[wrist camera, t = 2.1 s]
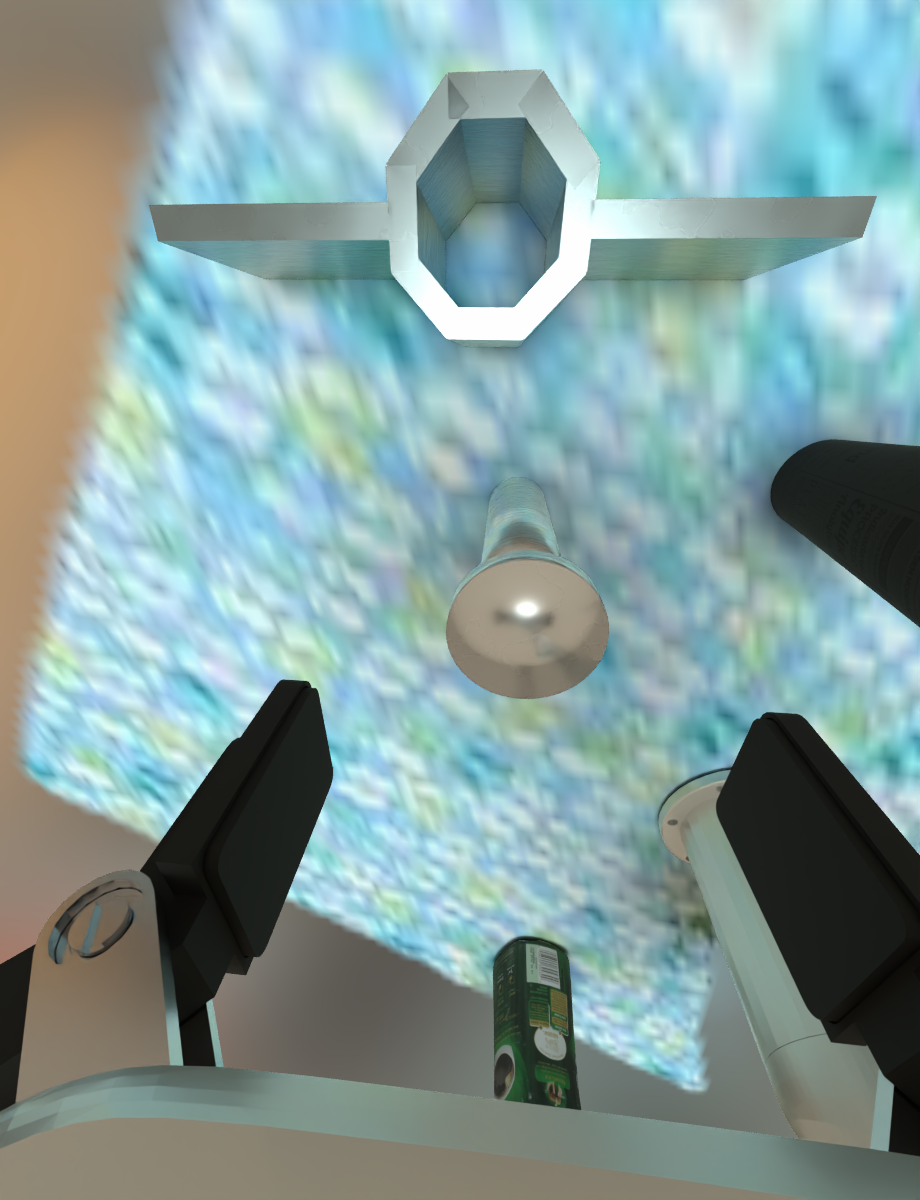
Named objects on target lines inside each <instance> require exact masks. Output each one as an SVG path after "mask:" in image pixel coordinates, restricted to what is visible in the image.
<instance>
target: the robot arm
mask: <svg viewBox="0 0 920 1200" xmlns="http://www.w3.org/2000/svg"><path fill="white" fill-rule="evenodd" d="M332 779H333V767H332V762H331V756H330V751H329V746H328V741H327V735H326V730H325V725H324V719H323V714H322V709H321V704H320V698H319V693H318V690H317V689H316V688H311V685H310V683H309V682H308V681H298V680H281V681H279V683H278V684H277V685H276V686H275V688H274V689H273V691H272V692H271V694H270V695H269V697H268V698H267V700H266V701H265V702H264V704H263V705H262V707H261V708H260V710H259V711H258V713H257V714H256V715H255V717H254V718H253V720H252V721H251V723H250V724H249V726H248V727H247V729H246V730H245V731H244V733H243V734H242V736H241V737H240V738H237V739H235V740H233V741H232V742H231V743H230V745H229V746H228V747H227V748H226V749H225V751H224V752H223V754H222V755H221V757H220V758H219V759H218V761H217V762H216V764H215V765H214V767H213V768H212V769H211V771H210V772H209V774H208V775H207V776H206V778H205V779H204V781H203V782H202V784H201V785H200V786H199V788H198V789H197V791H196V792H195V793H194V795H193V796H192V798H191V799H190V801H189V802H188V803H187V805H186V806H185V808H184V809H183V810H182V812H181V813H180V815H179V816H178V818H177V819H176V820H175V822H174V823H173V825H172V826H171V828H170V829H169V830H168V832H167V833H166V835H165V836H164V837H163V839H162V840H161V842H160V843H159V845H158V846H157V847H156V849H155V850H154V852H153V853H152V855H151V856H150V858H149V859H148V860H147V862H146V863H145V865H144V866H143V867H142V869H141V870H140V871H134V870H122V871H115V872H112V873H109V874H106V875H104V876H102V877H98V878H97V879H95V880H93V881H91V882H90V883H88V884H86V885H85V886H83V887H81V888H80V889H79V890H77V891H76V892H75V893H74V894H72V895H71V896H70V897H69V898H68V899H66V900H65V901H64V902H63V903H62V904H61V905H60V906H59V907H58V909H57V910H56V911H55V912H54V913H53V914H52V915H51V916H50V918H49V919H48V921H47V922H46V924H45V926H44V927H43V929H42V931H41V932H40V934H39V936H38V939H37V942H36V944H35V945H33V946H32V947H30V948H28V949H26V950H25V951H23V952H21V953H19V954H18V955H16V956H14V957H13V958H11V959H9V960H7V961H5V962H4V963H2V964H0V1200H920V855H919V854H918V853H917V852H916V850H915V849H914V848H913V847H912V846H911V844H910V843H909V842H908V841H907V840H906V838H905V837H904V836H903V835H902V834H901V832H900V831H899V830H898V829H897V828H896V827H895V825H894V824H893V823H892V822H891V821H890V819H889V818H888V817H887V816H886V815H885V813H884V812H883V811H882V810H881V809H880V807H879V806H878V805H877V804H876V803H875V801H874V800H873V799H872V798H871V797H870V795H869V794H868V793H867V792H866V791H865V790H864V788H863V787H862V786H861V785H860V784H859V782H858V781H857V780H856V779H855V778H854V776H853V775H852V774H851V773H850V772H849V770H848V769H847V768H846V767H845V766H844V764H843V763H842V762H841V761H840V760H839V758H838V757H837V756H836V755H835V754H834V752H833V751H832V750H831V749H830V748H829V747H828V745H827V744H826V743H825V742H824V741H823V739H822V738H821V737H820V736H819V735H818V733H817V732H816V731H815V730H814V729H813V727H812V726H811V725H810V724H809V723H808V721H807V720H806V719H805V718H804V717H802V716H801V715H798V714H789V713H774V712H766V713H765V714H763V715H762V717H761V718H760V719H756V720H754V722H753V723H752V725H751V728H750V730H749V732H748V734H747V736H746V738H745V740H744V743H743V745H742V747H741V749H740V751H739V753H738V756H737V758H736V760H735V762H734V764H733V766H732V768H731V770H726V771H720V772H716V773H712V774H709V775H706V776H703V777H700V778H698V779H696V780H693V781H691V782H689V783H688V784H686V785H684V786H683V787H681V788H680V789H678V790H677V791H676V792H675V793H674V794H673V795H671V796H670V797H669V799H668V800H667V801H666V803H665V804H664V805H663V807H662V809H661V812H660V814H659V820H658V825H659V830H660V833H661V836H662V839H663V842H664V844H665V845H666V847H667V848H668V850H669V851H670V852H671V853H673V854H674V855H675V856H676V857H677V858H679V859H681V860H682V861H684V862H686V863H689V864H691V867H692V870H693V872H694V875H695V878H696V880H697V883H698V886H699V889H700V891H701V894H702V897H703V900H704V902H705V905H706V908H707V910H708V913H709V916H710V919H711V921H712V924H713V927H714V930H715V932H716V935H717V938H718V940H719V943H720V946H721V949H722V951H723V954H724V957H725V959H726V962H727V965H728V968H729V970H730V973H731V976H732V979H733V981H734V984H735V987H736V989H737V992H738V995H739V998H740V1000H741V1003H742V1006H743V1009H744V1011H745V1014H746V1017H747V1019H748V1022H749V1025H750V1028H751V1030H752V1033H753V1036H754V1038H755V1041H756V1044H757V1047H758V1049H759V1052H760V1055H761V1057H762V1060H763V1063H764V1066H765V1068H766V1071H767V1073H768V1076H769V1079H770V1081H771V1084H772V1087H773V1090H774V1092H775V1095H776V1097H777V1100H778V1102H779V1104H780V1107H781V1109H782V1111H783V1113H784V1115H785V1117H786V1119H787V1121H788V1122H789V1124H790V1126H791V1128H792V1129H793V1131H794V1132H795V1134H796V1135H797V1137H798V1139H794V1138H786V1137H779V1136H772V1135H764V1134H757V1133H750V1132H741V1131H735V1130H727V1129H720V1128H712V1127H705V1126H697V1125H690V1124H683V1123H675V1122H667V1121H659V1120H652V1119H644V1118H636V1117H629V1116H621V1115H613V1114H605V1113H598V1112H590V1111H583V1110H575V1109H567V1108H559V1107H552V1106H544V1105H536V1104H528V1103H521V1102H513V1101H505V1100H497V1099H489V1098H481V1097H474V1096H465V1095H458V1094H450V1093H442V1092H433V1091H426V1090H418V1089H410V1088H401V1087H393V1086H385V1085H377V1084H368V1083H361V1082H353V1081H345V1080H337V1079H329V1078H321V1077H311V1076H302V1075H292V1074H282V1073H272V1072H263V1071H252V1070H243V1069H232V1068H224V1067H223V1061H222V1055H221V1049H220V1043H219V1037H218V1031H217V1025H216V1019H215V1013H214V1007H213V1001H212V998H214V997H215V995H216V993H217V990H218V988H219V986H220V984H221V982H222V979H223V977H224V975H225V973H231V974H239V975H246V974H247V972H248V969H249V967H250V964H251V962H252V960H253V957H259V956H261V954H262V953H263V952H264V950H265V949H266V946H267V944H268V942H269V939H270V937H271V934H272V932H273V929H274V927H275V924H276V922H277V919H278V917H279V914H280V912H281V909H282V907H283V904H284V902H285V899H286V897H287V894H288V892H289V889H290V887H291V884H292V882H293V879H294V877H295V874H296V872H297V869H298V867H299V864H300V862H301V859H302V857H303V854H304V852H305V849H306V847H307V844H308V842H309V839H310V837H311V834H312V832H313V829H314V827H315V824H316V822H317V819H318V817H319V814H320V812H321V809H322V807H323V804H324V802H325V799H326V797H327V794H328V792H329V789H330V786H331V783H332Z"/></svg>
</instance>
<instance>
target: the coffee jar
mask: <svg viewBox="0 0 920 1200" xmlns="http://www.w3.org/2000/svg"><path fill="white" fill-rule="evenodd" d="M493 999H494V1099H497V1100H505V1101H513V1102H521V1103H528V1104H536V1105H544V1106H552V1107H559V1108H567V1109H575V1110H581V1106H580V1098H579V1090H578V1081H577V1067H576V1055H575V1042H574V1029H573V1012H572V993H571V979H570V967H569V960H568V957H567V956H566V954H565V953H564V952H562V951H561V950H559V949H558V948H557V947H556V946H554V945H552V944H549V943H547V942H543V941H540V940H538V941H526V940H519V941H516V942H514V943H513V944H511V945H510V946H509V947H507V948H506V949H505V950H504V951H503V952H502V953H501V954H500V955H499V957H498V958H497V960H496V961H495V963H494V966H493Z"/></svg>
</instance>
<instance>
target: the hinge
mask: <svg viewBox="0 0 920 1200" xmlns="http://www.w3.org/2000/svg"><path fill="white" fill-rule="evenodd" d="M541 72H542V70H513V71H485V72H456V73H448V76H447V74H446V75H445V76H444V78H443V79H442V81H441V82H440V84H439V85H438V87H437V88H436V90H435V91H434V93H433V94H432V96H431V97H430V99H429V100H428V102H427V103H426V105H425V106H424V108H423V109H422V111H421V112H420V114H419V115H418V117H417V118H416V120H415V121H414V123H413V124H412V126H411V127H410V129H409V130H408V132H407V133H406V135H405V136H404V138H403V139H402V141H401V142H400V144H399V145H398V147H397V148H396V150H395V151H394V153H393V154H392V156H391V157H390V159H389V160H388V162H387V163H386V164H387V166H386V183H387V202H357V203H274V204H192V205H149V207H150V211H151V215H152V219H153V223H154V227H155V231H156V235H157V239H158V241H159V242H162V243H165V244H168V245H170V246H173V247H176V248H179V249H182V250H185V251H187V252H190V253H193V254H196V255H199V256H201V257H204V258H207V259H210V260H213V261H216V262H218V263H221V264H224V265H227V266H230V267H232V268H235V269H238V270H241V271H244V272H247V273H249V274H252V275H255V276H258V277H261V278H263V279H397V281H398V282H399V283H400V284H401V285H402V287H403V288H404V289H405V290H406V291H407V293H408V294H409V295H410V296H411V297H412V298H413V300H414V301H415V302H416V303H417V304H418V306H419V307H420V308H421V309H422V310H423V311H424V313H425V314H426V315H427V316H428V317H429V319H430V320H431V321H432V322H433V323H434V325H435V326H436V327H437V328H438V329H439V330H440V332H441V333H442V334H443V335H444V336H445V338H446V339H448V340H451V341H453V342H455V343H458V344H460V345H462V346H465V347H509V348H518V347H519V346H520V345H521V344H522V343H523V342H524V341H525V340H526V339H527V338H528V337H529V336H530V335H531V334H532V333H533V332H534V331H535V330H536V329H537V328H538V326H539V325H540V324H541V323H542V322H543V321H544V320H545V319H546V318H547V317H548V316H549V315H550V314H551V313H552V312H553V311H554V310H555V309H556V308H557V306H558V305H559V304H560V303H561V302H562V301H563V300H564V299H565V298H566V296H567V295H568V294H569V293H570V292H571V291H572V289H573V288H574V287H575V286H576V285H577V284H578V283H579V281H580V280H745V279H748V278H751V277H753V276H756V275H759V274H762V273H764V272H767V271H770V270H773V269H776V268H778V267H781V266H784V265H787V264H789V263H792V262H795V261H798V260H801V259H803V258H806V257H809V256H812V255H814V254H817V253H820V252H823V251H826V250H828V249H831V248H834V247H837V246H839V245H842V244H845V243H848V242H851V241H853V240H856V239H859V238H862V237H863V234H864V231H865V228H866V225H867V222H868V220H869V217H870V214H871V211H872V208H873V206H874V203H875V200H876V197H877V196H852V197H769V198H687V199H604V200H596V195H597V187H598V179H599V170H600V162H599V161H600V159H599V157H598V156H597V154H596V153H595V151H594V149H593V148H592V146H591V145H590V143H589V142H588V140H587V138H586V137H585V135H584V134H583V132H582V131H581V129H580V127H579V126H578V124H577V123H576V121H575V120H574V118H573V116H572V115H571V113H570V112H569V110H568V109H567V107H566V105H565V104H564V102H563V101H562V99H561V98H560V96H559V94H558V93H557V91H556V90H555V88H554V87H553V85H552V83H551V82H550V80H549V79H548V77H547V76H546V74H545V72H544V71H543V72H542V73H541ZM498 202H520V204H521V205H522V207H523V208H524V209H525V211H526V212H527V214H528V215H529V216H530V218H531V219H532V221H533V222H534V223H535V225H536V226H537V228H538V229H539V231H540V232H541V233H542V235H543V236H544V238H545V239H546V240H547V246H546V258H545V269H544V275H543V276H542V277H541V278H540V280H539V281H538V282H537V283H536V284H535V285H534V286H533V287H532V288H531V290H530V291H529V292H528V293H527V294H526V295H525V296H524V297H523V298H522V299H521V301H520V302H519V303H518V304H517V305H516V306H515V307H514V308H468V307H458V306H457V305H456V303H455V302H454V301H453V300H452V298H451V297H450V296H449V295H448V294H447V292H446V241H447V240H448V238H449V237H450V236H451V234H452V233H453V232H454V231H455V229H456V228H457V227H458V225H459V224H460V223H461V222H462V220H463V219H464V218H465V216H466V215H467V214H468V213H469V211H470V210H471V209H472V207H473V206H474V205H475V204H476V203H498Z"/></svg>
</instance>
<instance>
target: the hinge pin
mask: <svg viewBox="0 0 920 1200" xmlns="http://www.w3.org/2000/svg"><path fill="white" fill-rule="evenodd" d="M446 636H447V643H448V647H449V650H450V653H451V655H452V658H453V659H454V661H455V663H456V665H457V666H458V667H459V668H460V670H461V671H462V672H463V673H464V674H465V675H466V676H467V677H468V678H469V679H470V680H472V681H473V682H474V683H476V684H477V685H479V686H480V687H482V688H484V689H486V690H488V691H490V692H493V693H496V694H499V695H502V696H506V697H511V698H519V699H533V698H542V697H548V696H551V695H555V694H558V693H561V692H563V691H566V690H568V689H570V688H572V687H573V686H575V685H577V684H578V683H580V682H581V681H582V680H584V679H585V678H586V677H587V676H588V675H589V674H590V673H591V672H592V671H593V670H594V669H595V668H596V666H597V665H598V663H599V662H600V660H601V659H602V657H603V654H604V652H605V650H606V647H607V643H608V637H609V622H608V617H607V613H606V610H605V608H604V605H603V602H602V600H601V598H600V595H599V593H598V590H597V588H596V587H595V585H594V583H593V582H592V580H591V579H590V578H589V576H588V575H587V574H586V573H585V572H584V571H583V570H582V569H581V568H579V567H578V566H577V565H575V564H574V563H572V562H571V561H569V560H567V559H565V558H563V557H561V554H560V551H559V547H558V544H557V540H556V536H555V533H554V529H553V526H552V522H551V519H550V515H549V512H548V508H547V505H546V501H545V498H544V495H543V492H542V490H541V489H540V487H539V486H538V485H537V484H536V483H534V482H533V481H531V480H529V479H526V478H521V477H515V478H510V479H507V480H505V481H503V482H501V483H500V484H499V485H498V486H497V487H496V488H495V489H494V490H493V492H492V494H491V496H490V500H489V507H488V514H487V522H486V529H485V537H484V545H483V552H482V560H481V564H479V565H478V566H476V567H475V568H474V569H473V570H471V571H470V572H469V573H468V574H467V575H466V576H465V578H464V579H463V580H462V581H461V583H460V584H459V586H458V588H457V589H456V591H455V594H454V596H453V599H452V603H451V607H450V611H449V615H448V620H447V627H446Z"/></svg>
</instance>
